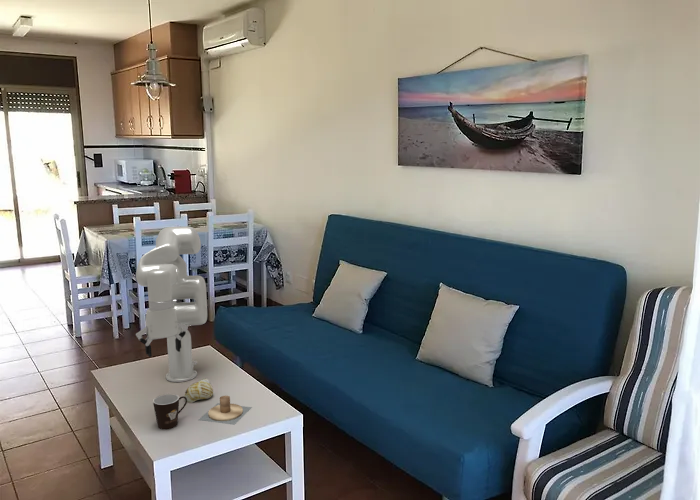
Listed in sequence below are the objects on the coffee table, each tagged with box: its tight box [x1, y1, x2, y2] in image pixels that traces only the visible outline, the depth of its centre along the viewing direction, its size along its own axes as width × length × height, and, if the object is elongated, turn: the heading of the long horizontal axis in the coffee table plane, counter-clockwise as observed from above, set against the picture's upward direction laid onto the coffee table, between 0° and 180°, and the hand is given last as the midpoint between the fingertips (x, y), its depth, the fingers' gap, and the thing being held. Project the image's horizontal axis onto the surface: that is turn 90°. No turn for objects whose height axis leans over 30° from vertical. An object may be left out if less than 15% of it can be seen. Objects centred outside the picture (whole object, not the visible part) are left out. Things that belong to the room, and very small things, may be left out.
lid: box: [207, 395, 243, 421], centre depth 210 cm, size 12×12×6 cm
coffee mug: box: [152, 393, 188, 431], centre depth 202 cm, size 12×9×10 cm
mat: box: [198, 402, 253, 426], centre depth 210 cm, size 14×14×1 cm
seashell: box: [183, 378, 214, 404], centre depth 223 cm, size 10×10×10 cm
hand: (163, 353), depth 202 cm, fingers open, 9 cm apart
